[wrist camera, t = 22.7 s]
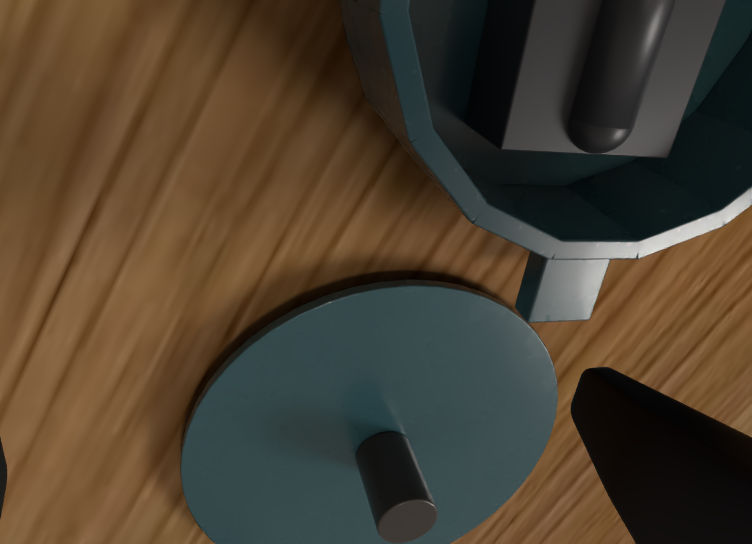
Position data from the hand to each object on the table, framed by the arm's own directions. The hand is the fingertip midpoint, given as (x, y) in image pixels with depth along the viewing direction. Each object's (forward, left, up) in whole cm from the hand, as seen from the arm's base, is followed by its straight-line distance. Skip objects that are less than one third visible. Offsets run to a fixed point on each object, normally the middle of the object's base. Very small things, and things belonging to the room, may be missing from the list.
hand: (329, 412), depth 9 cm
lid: (+6, -12, -11) cm, 18 cm away
